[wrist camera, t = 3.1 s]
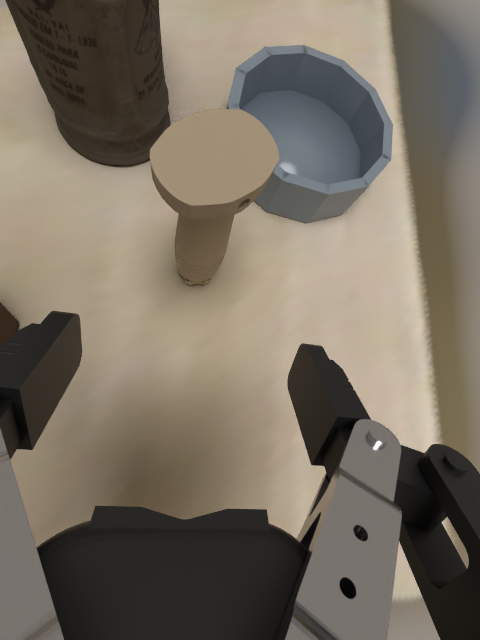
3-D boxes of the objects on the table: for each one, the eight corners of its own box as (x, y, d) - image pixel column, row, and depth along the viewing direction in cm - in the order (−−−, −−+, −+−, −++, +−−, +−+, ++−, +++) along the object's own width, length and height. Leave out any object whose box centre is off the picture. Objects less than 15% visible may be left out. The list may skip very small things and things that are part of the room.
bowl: (208, 195, 31) (214, 159, 26) (236, 72, 35) (246, 22, 31) (358, 238, 34) (388, 213, 29) (367, 119, 38) (394, 80, 33)
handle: (152, 268, 28) (129, 141, 14) (208, 236, 30) (240, 94, 16) (182, 310, 28) (191, 224, 13) (237, 275, 30) (296, 166, 15)
